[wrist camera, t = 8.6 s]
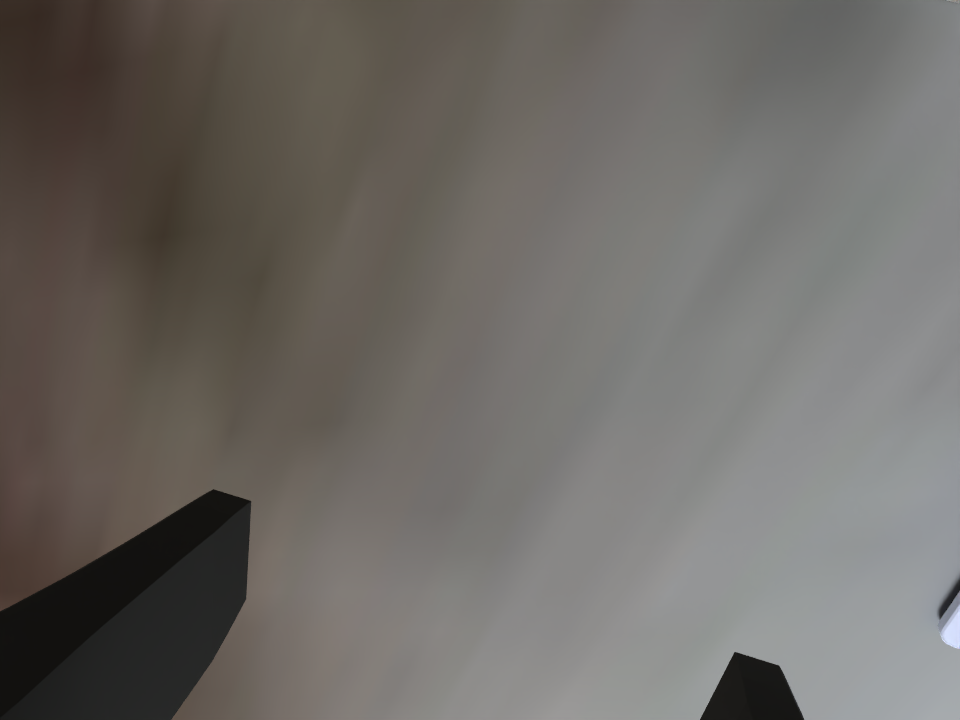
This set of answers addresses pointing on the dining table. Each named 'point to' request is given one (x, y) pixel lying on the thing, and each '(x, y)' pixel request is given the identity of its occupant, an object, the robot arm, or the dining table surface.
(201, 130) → the dining table surface
